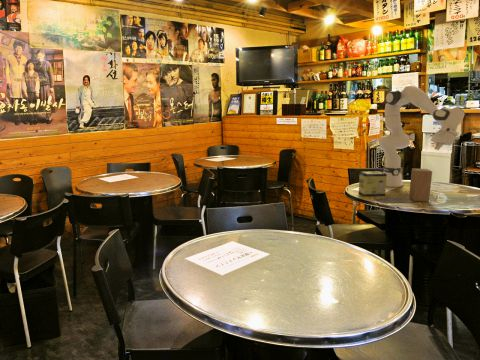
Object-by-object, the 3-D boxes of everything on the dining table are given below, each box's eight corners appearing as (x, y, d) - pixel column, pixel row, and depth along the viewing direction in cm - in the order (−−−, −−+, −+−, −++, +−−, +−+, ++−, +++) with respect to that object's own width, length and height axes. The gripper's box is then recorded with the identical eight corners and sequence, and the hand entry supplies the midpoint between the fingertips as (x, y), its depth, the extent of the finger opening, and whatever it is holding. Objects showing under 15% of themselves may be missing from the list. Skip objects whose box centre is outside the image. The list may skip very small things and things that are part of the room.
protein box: (358, 193, 299) (359, 171, 296) (379, 192, 301) (380, 171, 298) (363, 196, 289) (364, 173, 286) (385, 196, 290) (387, 173, 288)
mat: (374, 198, 282) (374, 198, 282) (405, 198, 284) (405, 197, 284) (382, 203, 270) (382, 202, 269) (415, 202, 272) (415, 202, 271)
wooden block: (424, 198, 283) (427, 168, 279) (429, 201, 273) (432, 171, 269) (408, 197, 284) (411, 168, 280) (413, 201, 274) (416, 170, 270)
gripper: (435, 127, 286) (424, 145, 288) (452, 129, 266) (440, 149, 268) (442, 131, 287) (432, 150, 289) (460, 134, 267) (448, 153, 269)
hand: (436, 149), depth 278 cm, fingers closed
